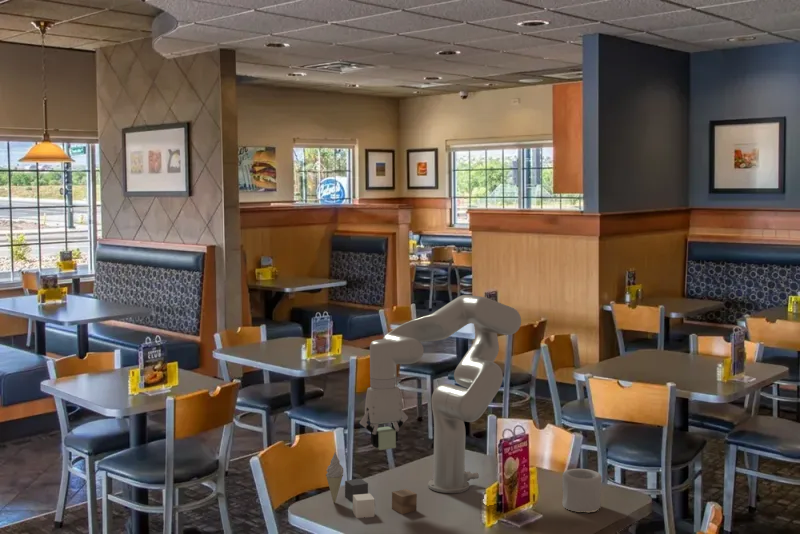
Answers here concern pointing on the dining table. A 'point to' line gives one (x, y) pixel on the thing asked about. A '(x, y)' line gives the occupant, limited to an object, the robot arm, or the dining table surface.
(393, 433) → the sage block
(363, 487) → the black block
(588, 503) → the mug
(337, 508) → the dining table surface
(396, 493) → the walnut block
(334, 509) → the dining table surface
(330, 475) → the ice cream cone
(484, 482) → the dining table surface
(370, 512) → the offwhite block
